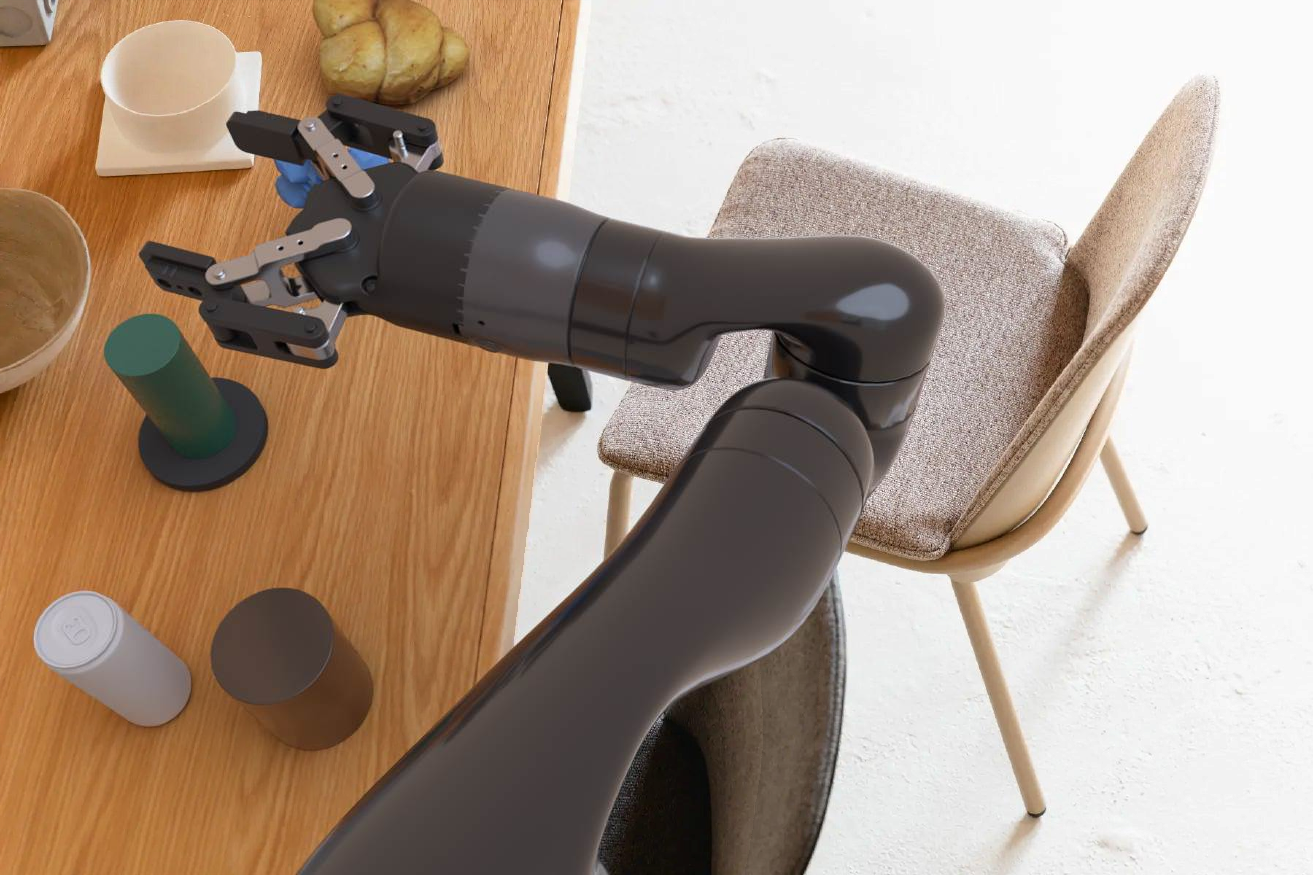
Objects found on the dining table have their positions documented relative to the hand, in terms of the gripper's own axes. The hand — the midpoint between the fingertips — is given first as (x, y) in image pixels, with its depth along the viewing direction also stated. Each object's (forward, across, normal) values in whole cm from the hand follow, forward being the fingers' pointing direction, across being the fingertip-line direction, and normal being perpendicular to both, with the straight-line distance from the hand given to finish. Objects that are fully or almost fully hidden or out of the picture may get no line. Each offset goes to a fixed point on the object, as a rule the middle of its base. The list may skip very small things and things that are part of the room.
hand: (192, 193), depth 57 cm
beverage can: (+5, +18, +30) cm, 35 cm away
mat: (+11, 0, +30) cm, 32 cm away
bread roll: (+12, -37, +30) cm, 49 cm away
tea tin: (+11, 0, +29) cm, 31 cm away
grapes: (+6, -19, +30) cm, 36 cm away
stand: (-5, +15, +30) cm, 34 cm away
